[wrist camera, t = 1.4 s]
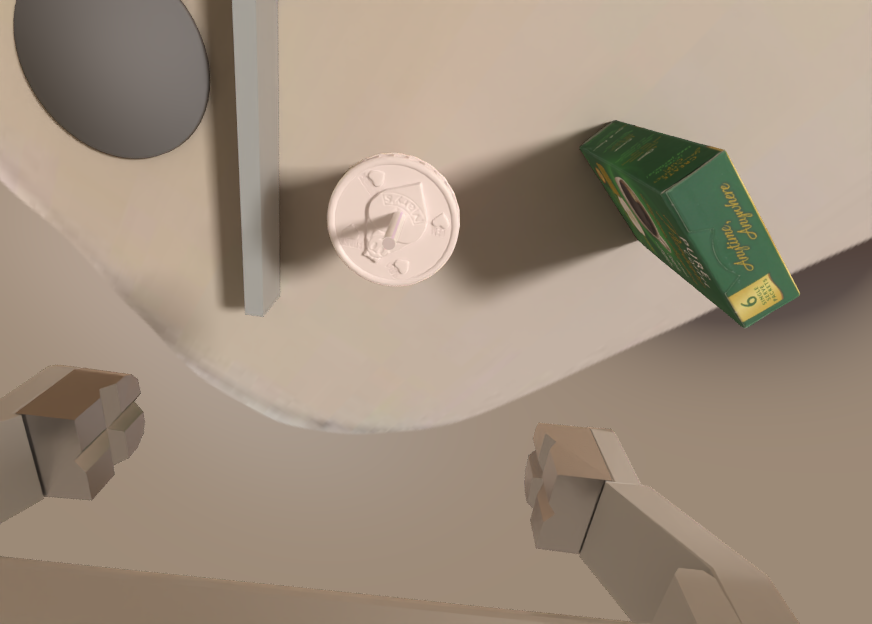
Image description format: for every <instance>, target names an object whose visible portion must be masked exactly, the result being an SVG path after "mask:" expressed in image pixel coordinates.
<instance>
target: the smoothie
mask: <svg viewBox="0 0 872 624" xmlns="http://www.w3.org/2000/svg"><path fill="white" fill-rule="evenodd" d="M327 226H328V232H329V236H330V239H331V242H332V244H333V247H334V249H335V251H336V252H337V254H338V255H339V257H340V258H341V260H342V261H343V262H344V263H345V264H346V265H347V266H348V267H349V268H350V269H351V270H352V271H353V272H355V273H356V274H358V275H359V276H361V277H362V278H364V279H366V280H368V281H371V282H374V283H376V284H380V285H386V286H407V285H412V284H415V283H418V282H421V281H423V280H425V279H427V278H429V277H430V276H432V275H433V274H435V273H436V272H437V271H439V270H440V269H441V268H442V267H443V266H444V264H445V263H446V262H447V261H448V259H449V258H450V256H451V254H452V252H453V250H454V248H455V245H456V242H457V239H458V233H459V228H460V211H459V206H458V203H457V200H456V196H455V193H454V191H453V190H452V188H451V187H450V185H449V183H448V182H447V180H446V179H445V177H444V176H443V175H442V174H441V173H439V172H438V171H437V170H436V169H435V168H434V167H433V166H432V165H430V164H428V163H426V162H425V161H423V160H421V159H419V158H417V157H415V156H410V155H406V154H401V153H382V154H377V155H374V156H371V157H368V158H365V159H363V160H361V161H360V162H358V163H357V164H355V165H354V166H353V167H351V168H350V169H348V171H347V172H346V173H345V174H344V176H343V177H342V178H341V179H340V181H339V182H338V183H337V186H336V187H335V189H334V191H333V193H332V195H331V198H330V201H329V205H328V211H327Z"/></svg>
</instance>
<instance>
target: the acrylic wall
mask: <svg viewBox="0 0 872 624" xmlns="http://www.w3.org/2000/svg"><path fill="white" fill-rule="evenodd" d="M232 14H233V37H234V61H235V85H236V109H237V133H238V157H239V181H240V205H241V228H242V252H243V276H244V300H245V315H252V316H260V317H264V316H265V314H266V313H267V312H268V310H269V309H270V308H271V307H272V305H273V304H274V303H275V302H276V300H277V299H278V298H279V297H280V226H279V100H278V0H232Z"/></svg>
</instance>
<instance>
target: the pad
mask: <svg viewBox="0 0 872 624" xmlns="http://www.w3.org/2000/svg"><path fill="white" fill-rule="evenodd" d="M14 37H15V43H16V49H17V53H18V56H19V60H20V63H21V66H22V68H23V71H24V74H25V76H26V78H27V80H28V82H29V84H30V86H31V88H32V90H33V91H34V93H35V94H36V96H37V98H38V99H39V101H40V102H41V103H42V105H43V106H44V107H45V109H46V110H47V111H48V112H49V113H50V115H51V116H52V117H53V118H54V119H55V120H56V121H57V122H58V123H59V124H60V125H61V126H62V127H63V128H65V129H66V130H67V131H68V132H69V133H71V134H72V135H73V136H75V137H76V138H77V139H79V140H80V141H82V142H84V143H85V144H87V145H89V146H91V147H93V148H95V149H97V150H99V151H102V152H105V153H108V154H111V155H114V156H119V157H124V158H148V157H153V156H157V155H161V154H164V153H167V152H169V151H172V150H173V149H175V148H177V147H178V146H180V145H181V144H183V143H184V142H185V141H186V140H187V139H189V137H190V136H191V135H192V134H193V133H194V132H195V130H196V129H197V127H198V125H199V124H200V122H201V120H202V118H203V115H204V113H205V110H206V107H207V103H208V98H209V90H210V72H209V63H208V58H207V54H206V50H205V46H204V43H203V40H202V37H201V35H200V32H199V30H198V28H197V26H196V24H195V22H194V20H193V18H192V16H191V15H190V13H189V11H188V10H187V8H186V7H185V5H184V4H183V3H182V1H181V0H16V5H15V11H14Z"/></svg>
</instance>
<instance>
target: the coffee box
mask: <svg viewBox="0 0 872 624" xmlns="http://www.w3.org/2000/svg"><path fill="white" fill-rule="evenodd" d="M580 150H581V152H582V153H583V155H584V156H585V158H586V159H587V161H588V162H589V164H590V166H591V168H592V169H593V171H594V172H595V174H596V175H597V176H598V178H599V179H600V181H601V183H602V184H603V186H604V187H605V189H606V191H607V192H608V194H609V195H610V197H611V199H612V200H613V202H614V203H615V205H616V207H617V208H618V210H619V211H620V213H621V214H622V216H623V217H624V219H625V221H626V222H627V224H628V225H629V227H630V228H631V230H632V232H633V233H634V235H635V236H636V238H637V239H638V241H640V242H641V243H642V244H643V245H644V246H645V247H646V248H647V249H649V250H650V251H651V252H652V253H653V254H654V255H656V256H657V257H658V258H659V259H660V260H661V261H663V262H664V263H665V264H666V265H668V266H669V267H670V268H671V269H673V270H674V271H675V272H676V273H677V274H679V275H680V276H681V277H682V278H684V279H685V280H686V281H687V282H689V283H690V284H691V285H692V286H693V287H695V288H696V289H697V290H698V291H699V292H701V293H702V294H703V295H704V296H705V297H707V298H708V299H709V300H710V301H712V302H713V303H714V304H715V305H716V306H718V307H719V308H720V309H722V310H723V311H724V312H725V313H727V314H728V315H729V316H730V317H731V318H732V319H734V320H735V321H736V322H737V323H738V324H739V325H740V326H742V327H743V328H747V327H749V326H751V325H752V324H754V323H755V322H757V321H758V320H760V319H762V318H763V317H765V316H766V315H768V314H769V313H771V312H773V311H774V310H776V309H778V308H780V307H782V306H783V305H785V304H787V303H788V302H790V301H792V300H793V299H795V298H797V297H798V296H799V295H800V292H799V290H798V289H797V287H796V285H795V283H794V281H793V279H792V277H791V275H790V273H789V271H788V269H787V267H786V265H785V263H784V262H783V260H782V258H781V256H780V254H779V252H778V250H777V248H776V246H775V244H774V242H773V240H772V238H771V236H770V234H769V232H768V230H767V228H766V227H765V224H764V223H763V221H762V219H761V217H760V215H759V213H758V211H757V209H756V207H755V205H754V203H753V201H752V199H751V197H750V195H749V193H748V191H747V189H746V188H745V186H744V184H743V182H742V180H741V178H740V176H739V175H738V173H737V171H736V169H735V167H734V165H733V163H732V161H731V160H730V158H729V156H728V154H727V152H726V151H725V150H723V149H719V148H715V147H712V146H707V145H703V144H699V143H696V142H692V141H688V140H685V139H681V138H677V137H674V136H670V135H666V134H663V133H659V132H655V131H652V130H648V129H645V128H641V127H638V126H635V125H630V124H627V123H624V122H620V121H617V120H615V121H612V122H611V123H609V124H608V125H607V126H605V127H604V128H603V129H601V130H600V131H599V132H597V133H596V134H595V135H593V136H592V137H590V138H589V139H588V140H587V141H585V142H584V144H583V145H581V146H580Z"/></svg>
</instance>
